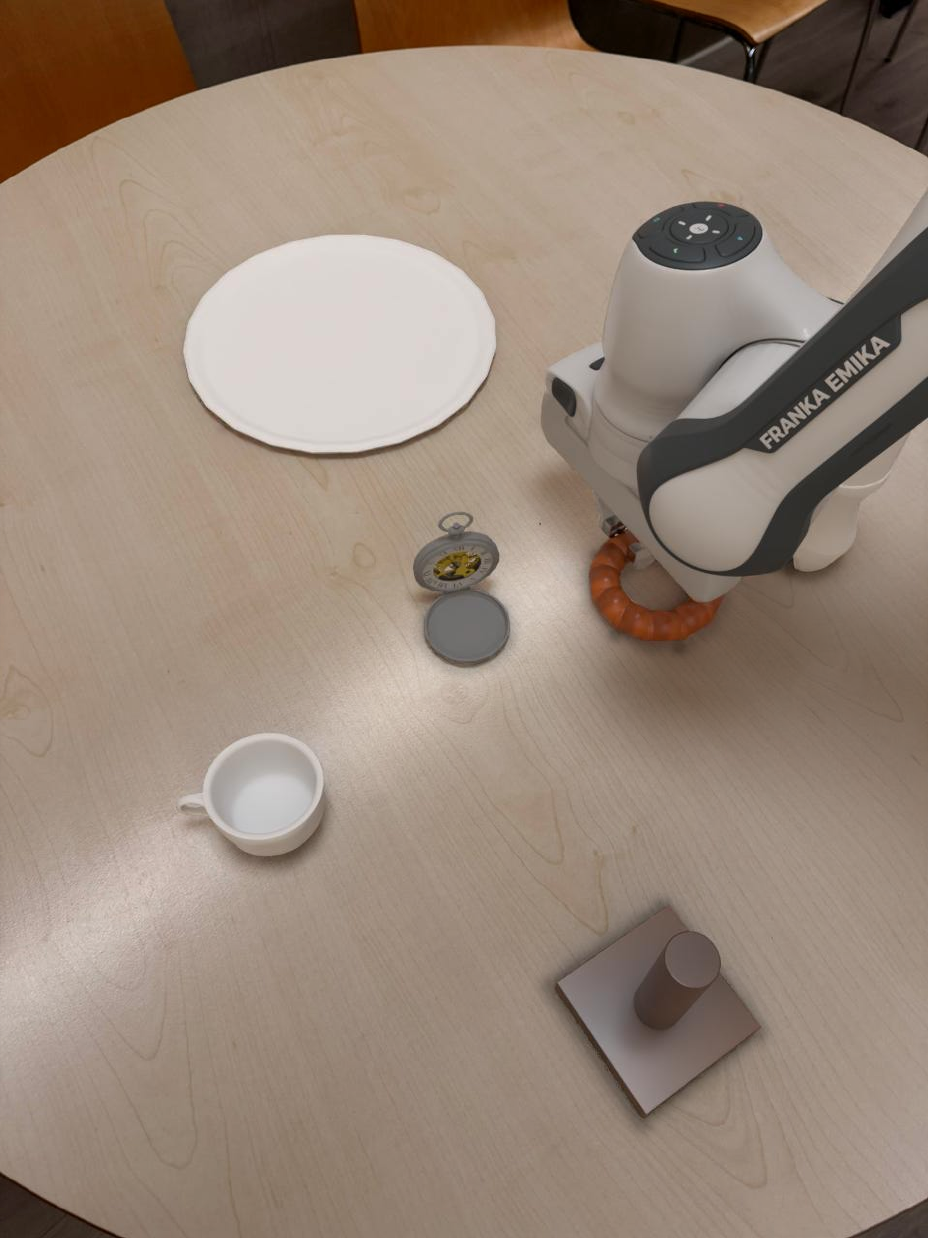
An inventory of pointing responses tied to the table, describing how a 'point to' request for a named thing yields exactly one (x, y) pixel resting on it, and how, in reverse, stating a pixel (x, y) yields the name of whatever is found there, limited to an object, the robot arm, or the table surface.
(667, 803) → the table surface
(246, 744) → the teacup
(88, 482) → the table surface
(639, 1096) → the stand
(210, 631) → the table surface
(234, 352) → the plate
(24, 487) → the table surface
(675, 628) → the orange beaded ring
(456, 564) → the pocket watch
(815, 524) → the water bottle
